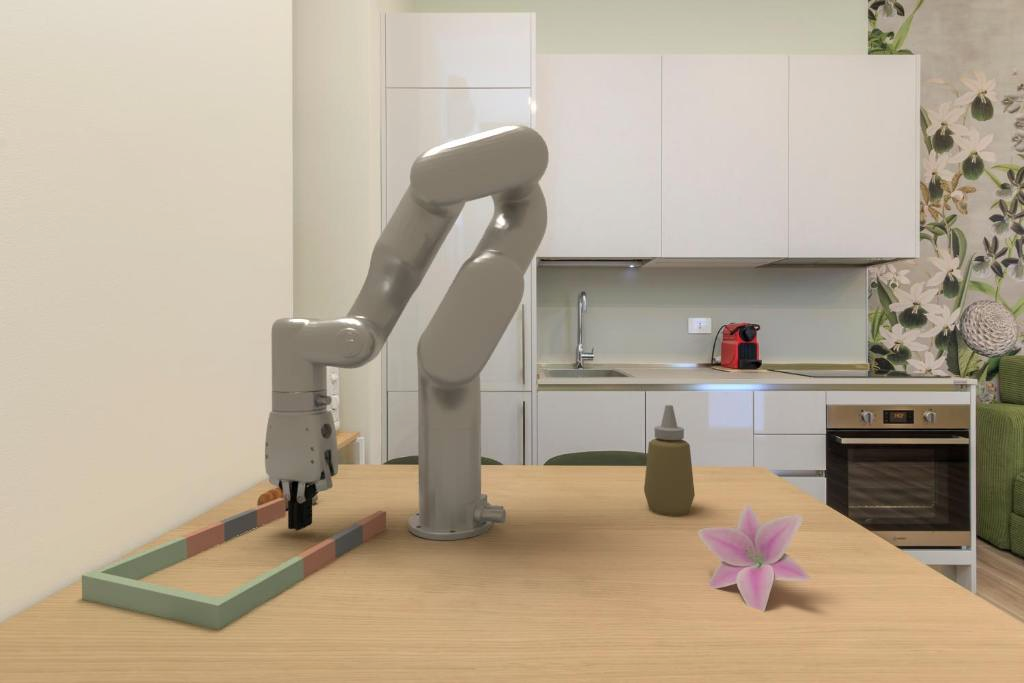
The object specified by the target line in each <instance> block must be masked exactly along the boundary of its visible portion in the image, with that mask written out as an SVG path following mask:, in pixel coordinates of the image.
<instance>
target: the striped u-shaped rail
mask: <svg viewBox="0 0 1024 683" xmlns="http://www.w3.org/2000/svg"><path fill="white" fill-rule="evenodd" d="M286 510H287V509H286V508H285V499H284V498H278V499H275V500H273V501H270V502H268V503H265V504H263V505H260V506H258V505H257V506H256V507H252V508H250V509H247V510H245V511H242V512H240V513H237V514H235V515H232V516H230V517H227V518H224V519H222V520H219V521H216V522H214V523H211V524H209V525H207V526H204V527H202V528H199V529H196V530H194V531H191V532H188V533H186V534H183V535H181V536H178V537H176V538H173V539H171V540H167V541H165V542H163V543H160V544H158V545H155V546H153V547H150V548H148V549H145V550H143V551H140V552H138V553H134V554H132V555H130V556H128V557H124V558H122V559H120V560H119V559H118V560H117V561H115V562H112V563H109V564H107V565H103V566H102V567H99V568H97V569H94V570H91V571H89V572H86V573H84V574H81V600H85V601H90V602H93V603H98V604H103V605H107V606H112V607H115V608H116V607H117V608H121V609H125V610H130V611H133V612H139V613H142V614H147V615H151V616H156V617H161V618H163V619H169V620H174V621H178V622H182V623H187V624H190V625H196V626H199V627H204V628H208V629H212V630H217V631H219V630H221V629H222V628H224V627H225V626H227V625H230V624H231V623H233V622H234V621H236V620H238V619H239V618H240V617H242V616H244V615H246V614H248V613H249V612H251V611H252V610H254V609H255V608H258V607H259V606H261V605H262V604H264V603H265V602H268V601H269V600H270V599H272V598H273V597H275V596H277V595H279V594H281V593H282V592H283V591H285V590H286V589H288V588H290V587H292V586H294V585H295V584H296V583H299V582H300V581H302V580H303V579H305V578H306V577H308V576H310V575H312V574H313V573H315V572H317V571H318V570H321V568H323V567H325V566H326V565H328V564H330V563H331V562H333V561H335V560H336V559H338V558H340V557H341V556H343V555H344V554H346V553H348V552H350V551H351V550H353V549H354V547H355V548H356V547H358V546H359V545H361V544H363V543H365V542H367V540H370V539H371V538H372V537H374V536H376V535H378V534H379V533H381V532H383V531H384V530H386V529H387V511H385V510H384V511H383V510H378V511H376V512H374V513H373V514H371V515H369V516H367V517H365V518H362V519H361V520H360V521H358V522H355V523H354V524H352V525H350V526H349V527H346V528H345V529H343V530H341V531H339V532H338V533H336V534H334V535H332V536H331V537H328V538H326V539H325V540H323V541H321V542H319V543H318V544H316V545H314V546H312V547H311V548H308V549H307V550H305V551H303V552H301V553H300V554H298V555H296V556H294V557H292V558H290V559H287V561H284V562H283V563H280V564H279V565H278V566H276V567H274V568H272V569H270V570H268V571H266V572H264V573H263V574H260V575H258V577H256V578H255V577H254V578H253V579H252V580H250V581H248V582H246V583H244V584H243V585H240V586H238V587H236V588H235V589H233V590H232V591H229V592H228V593H226V594H224V595H222V596H221V597H216V596H212V595H206V594H202V593H197V592H192V591H188V590H183V589H179V588H173V587H169V586H164V585H160V584H155V583H150V582H147V581H142V580H140V579H143V578H145V577H147V576H149V575H152V574H154V573H156V572H159V571H161V570H164V569H165V568H169V567H170V566H173V565H175V564H177V563H179V562H181V561H184V560H186V559H188V558H191V557H193V556H196V555H198V554H200V553H202V551H203V552H205V551H207V550H209V549H212V548H214V547H216V546H218V545H217V544H219V545H220V543H221V544H223V543H225V542H224V541H226V542H228V541H230V540H232V539H231V538H233V537H235V536H237V535H239V536H241V535H240V534H242V533H244V532H246V531H249V530H251V529H253V528H256V527H258V528H260V527H262V526H261V525H263V524H265V525H267V524H269V523H271V522H270V521H272V522H273V520H274V521H276V520H278V519H277V518H279V519H281V518H283V517H285V516H284V515H286ZM282 516H283V517H282ZM280 517H281V518H280ZM275 519H276V520H275ZM268 522H269V523H268ZM266 523H267V524H266ZM259 526H260V527H259ZM263 526H264V525H263ZM256 529H257V528H256ZM253 530H254V529H253ZM251 531H252V530H251ZM249 532H250V531H249ZM246 533H247V532H246ZM244 534H245V533H244ZM242 535H243V534H242ZM237 537H238V536H237ZM235 538H236V537H235ZM229 539H230V540H229ZM233 539H234V538H233ZM227 540H228V541H227ZM222 542H223V543H222ZM215 545H216V546H215ZM213 546H214V547H213ZM211 547H212V548H211Z"/></svg>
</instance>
